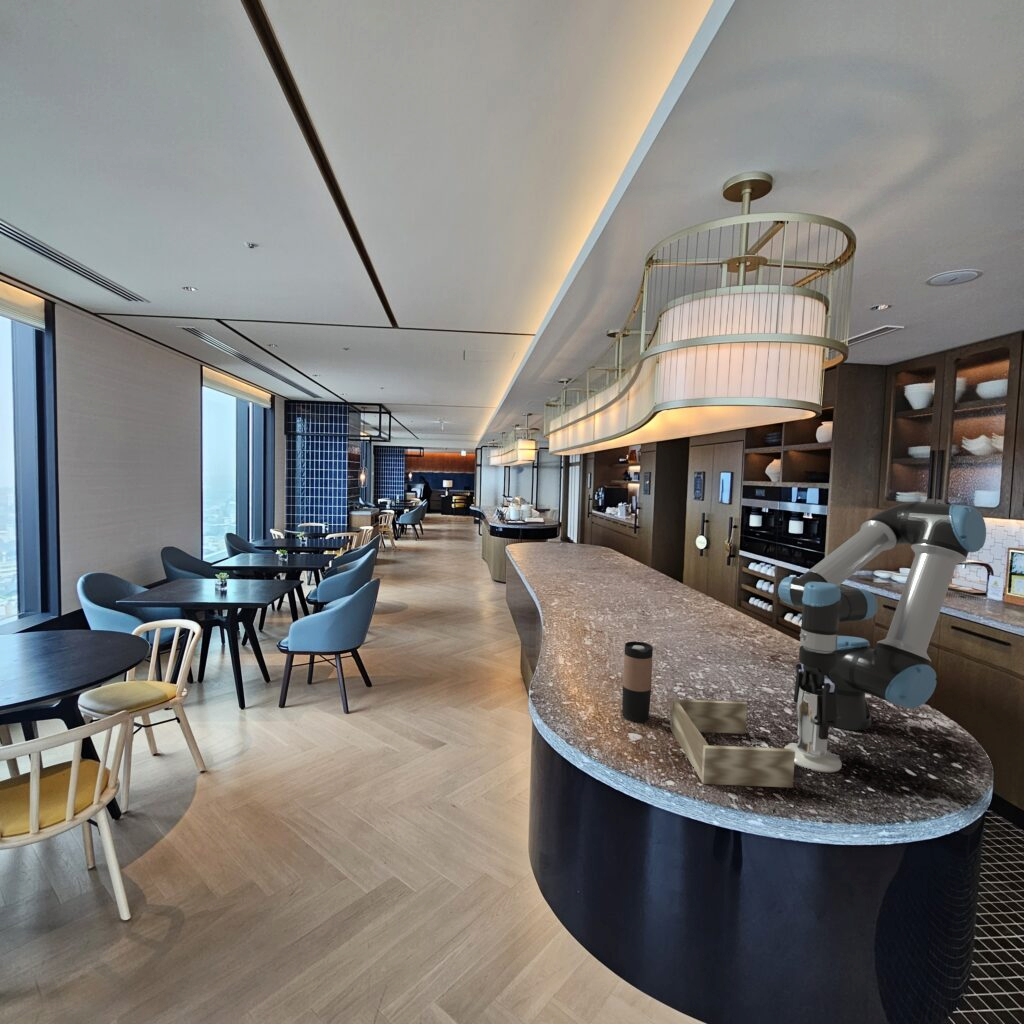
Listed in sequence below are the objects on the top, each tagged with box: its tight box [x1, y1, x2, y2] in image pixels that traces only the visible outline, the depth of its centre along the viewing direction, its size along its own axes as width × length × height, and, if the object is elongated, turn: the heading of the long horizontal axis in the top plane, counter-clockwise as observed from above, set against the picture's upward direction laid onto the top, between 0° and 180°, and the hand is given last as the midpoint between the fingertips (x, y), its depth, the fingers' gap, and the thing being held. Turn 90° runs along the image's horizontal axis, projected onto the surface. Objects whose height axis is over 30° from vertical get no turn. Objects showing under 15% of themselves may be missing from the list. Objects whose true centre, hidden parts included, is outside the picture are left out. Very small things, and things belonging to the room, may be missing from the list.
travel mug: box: [621, 641, 654, 723], centre depth 145 cm, size 8×8×20 cm
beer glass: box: [796, 685, 826, 757], centre depth 125 cm, size 7×7×15 cm
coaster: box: [784, 743, 843, 774], centre depth 126 cm, size 12×12×1 cm
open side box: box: [669, 698, 795, 788], centre depth 126 cm, size 19×25×8 cm
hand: (811, 742), depth 126 cm, fingers closed on beer glass, 6 cm apart
